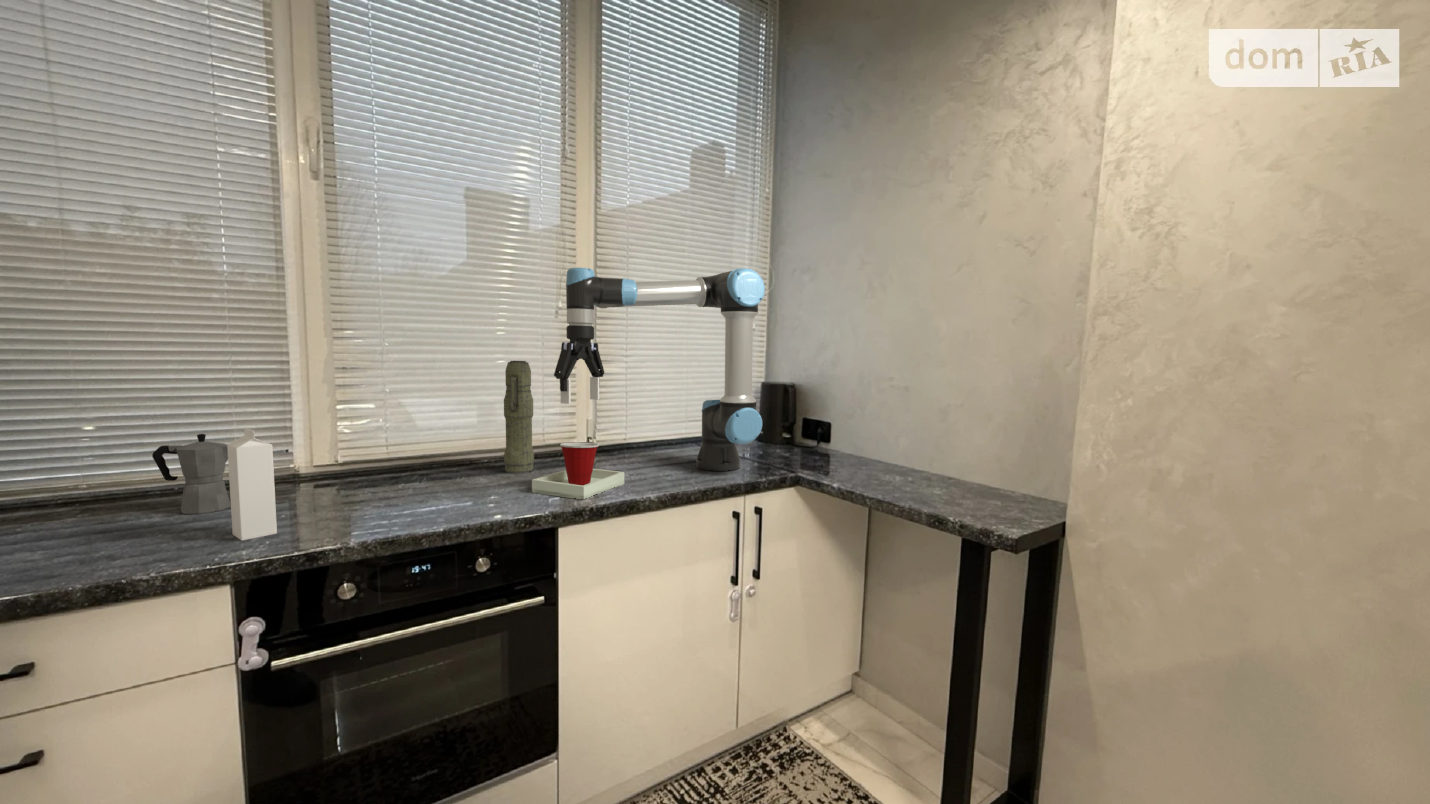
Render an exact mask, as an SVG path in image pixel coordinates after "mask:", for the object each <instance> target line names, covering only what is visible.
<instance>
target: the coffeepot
mask: <svg viewBox="0 0 1430 804" xmlns="http://www.w3.org/2000/svg"><path fill="white" fill-rule="evenodd" d="M206 436H207V434H205V433H199V434H196V437H197V440H198V441H197V442H192V443H188V444H185V445H181V444H179V445H178V444H176V445H175V444H173V445H167V444H166V445H160V446H159V447H157V448H156V449H155V450H154V451H153V452H152V455H151V456H152V459H153V461H154V462H155V464H156V466H157V468H158V470H159V471H160V473H161V476H163V478H164V480H165V481H170V482H171V481H173V482H174V481H177V479H178V478H179V477H178V475H176V476H174V475H171V473H170V468H169V467H168V466H167V463H166V460H165V457H164V456H163V455H165V454H170V455H177V457H178V461H179V465H180V469H181V472H182V475H183V477H184V479H185V481H184V482H185V483H184V485H183V490H182V496H181V497H182V498H181V502H180V511H181V512H182V513H183V515H189V516H190V515H191V516H192V515H203V514H204V515H205V514H211V512H212V513H216V512H215V511H217V512H221V511H225V510H227V509H229V508H231V500H230V497H229V495H228V491H227V487H226V483H225V481H224V477H223V475H224V473H225V471H226V470H225V469H226V463H227V462H228V448H227V445H228V444H229V443H228V444H226V443H222V442H215V441H214V442H213V441H206ZM226 508H227V509H226ZM224 509H225V510H224ZM182 513H181V514H182Z"/></svg>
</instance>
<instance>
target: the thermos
mask: <svg viewBox="0 0 1430 804" xmlns="http://www.w3.org/2000/svg"><path fill="white" fill-rule="evenodd" d="M505 386H506V389H505V395H504V397H503V417H504V419H505V450H504V454H503V456H504V457H503V461H504V462H503V463H504V466H505V467H504V468H505V469H504V472H505V471H506V472H505V473H507V472H509V473H508V474H514V473H516V474H526V473H525V472H528V473H530V472H529V471H531V470H533V469H534V462H535V453H534V448H533V416H534V397H533V395H532V390H531V386H532V369H531V366H530V363H529V362H528V361H526V360H510V361H508V362H507V364H506V368H505ZM533 471H534V470H533ZM531 472H532V471H531Z"/></svg>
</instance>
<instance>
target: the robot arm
mask: <svg viewBox="0 0 1430 804" xmlns="http://www.w3.org/2000/svg"><path fill="white" fill-rule="evenodd" d="M565 280H566V281H565V283H566V284H565V297H566V303H565V304H566V323H567V324H568V325H566V329H565V330H566V339H568V340H569V342H567V341H565V342H563V341H562V343H561V348H560V349H561V350H560V353H559V356H558V360H557V364H556V366H555V369H554V372H553V376H554V378H556V380H559V390H560V404H566V405H567V404H568V405H570V404H571V399H572V398H571V397H572V396H571V395H572V394H571V390H572V389H571V387H572V386H571V384H572V383H571V379H570V376H571V374H572V371H573V370H574V368H575V366H576V364H577V362H578V361H579V360H583V361H584V363H585V365H586V366H587V367H586V368H587V369H588V371H589V373H590V375H591V376H590V377H589V400H593V401H595V400H597V401H598V400H600V383H601V381H600V378H603V377H604V375H605V368H604V365H603V362H602V361H603V360H602V359H601V354H600V351H599V344H598V342H591V341H592V340H594V339H595V327H594V326H593V325H594V324H595V307H596V308H599V309H608V308H623V307H625V308H626V307H653V306H654V307H655V306H679V305H681V306H683V305H696V306H697V307H699V308H715V309H716V308H717V309H720V314H721V315H722V316H723V318H724V319H725V321H724V322H725V323H724V324H725V326H724V327H725V329H724V330H725V331H724V333H725V337H724V338H725V339H724V344H725V345H724V395H723V396H722V397H721V398H720V399H706V400H704V401H703V403H702V407H701V445H700V448H699V451H698V453H697V455H696V456H697V457H696V460H695V467H696V468H697V469H700V470H705V471H711V470H713V471H715V472H728V470H730V471H737V470H738V469H740V468H741V458H740V455H739V452H738V451H739V450H738V448H737V445H738V444H739V445H747V444H750V443H752V442H754V441H755V440H756V439H757V438H758V437H759V435H760V434H761V432H762V429H763V419H762V416H761V414H760V413H759V412H758V411H757V400H756V398H755V397H754V396H753V393H752V390H753V388H752V387H753V343H754V342H753V340H754V338H753V337H754V336H753V332H754V331H753V330H754V329H753V328H754V325H753V323H754V319H755V317H756V316H757V315H758V313H759V303H760V302H761V301H762V300H763V298H764V297H765V292H766V290H765V289H766V288H765V282H764V280H763V278H762V276H760V274H759V273H758V272H756V270H753V269H751V268H746V267H743V268H734V269H733V270H730V271H726V272H725V271H724V272H721V273H718V274H714V275H711V276H702V277H701V276H700V277H699V276H698V277H697V278H696V279H694V280H663V281H662V280H661V281H658V280H657V281H653V280H652V281H635V280H634V279H630V278H629V279H628V278H625V277H623V278H620V277H619V278H617V277H601V276H600V277H599V276H596V275H595V270H594V269H592V268H588V267H587V268H586V267H571V268H568V269H567V271H566V279H565ZM736 444H737V445H736ZM713 471H712V472H713Z"/></svg>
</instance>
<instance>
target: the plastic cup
mask: <svg viewBox="0 0 1430 804" xmlns="http://www.w3.org/2000/svg"><path fill="white" fill-rule="evenodd" d="M559 446H560V448H561V451H562V456H563V460H564V467H565V470H566V473H567V477H568V483H569V484H575V485H582V486H583V485H586V484H589V483H590V481H591V475H592V471H593V469H594V465H595V464H594V463H595V459H596V454H597V450H598V447H599V446H600V444H599V443H595V442H594V443H593V442H562V443H560V444H559Z"/></svg>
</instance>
